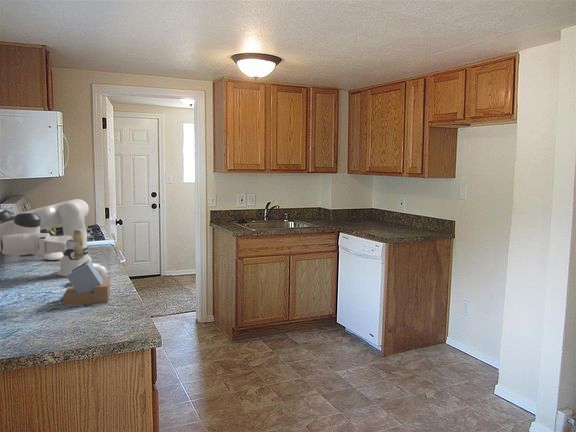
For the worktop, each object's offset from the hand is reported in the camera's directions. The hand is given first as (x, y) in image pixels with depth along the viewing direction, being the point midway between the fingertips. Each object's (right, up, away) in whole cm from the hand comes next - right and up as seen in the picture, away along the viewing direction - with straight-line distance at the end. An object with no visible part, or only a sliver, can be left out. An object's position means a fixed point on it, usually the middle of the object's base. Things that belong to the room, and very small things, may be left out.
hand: (80, 242), depth 199 cm
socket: (+2, -24, +3) cm, 25 cm away
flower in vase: (-51, -15, +81) cm, 97 cm away
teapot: (-10, -21, +32) cm, 40 cm away
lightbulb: (0, -23, +20) cm, 30 cm away
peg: (-1, -7, 0) cm, 7 cm away
